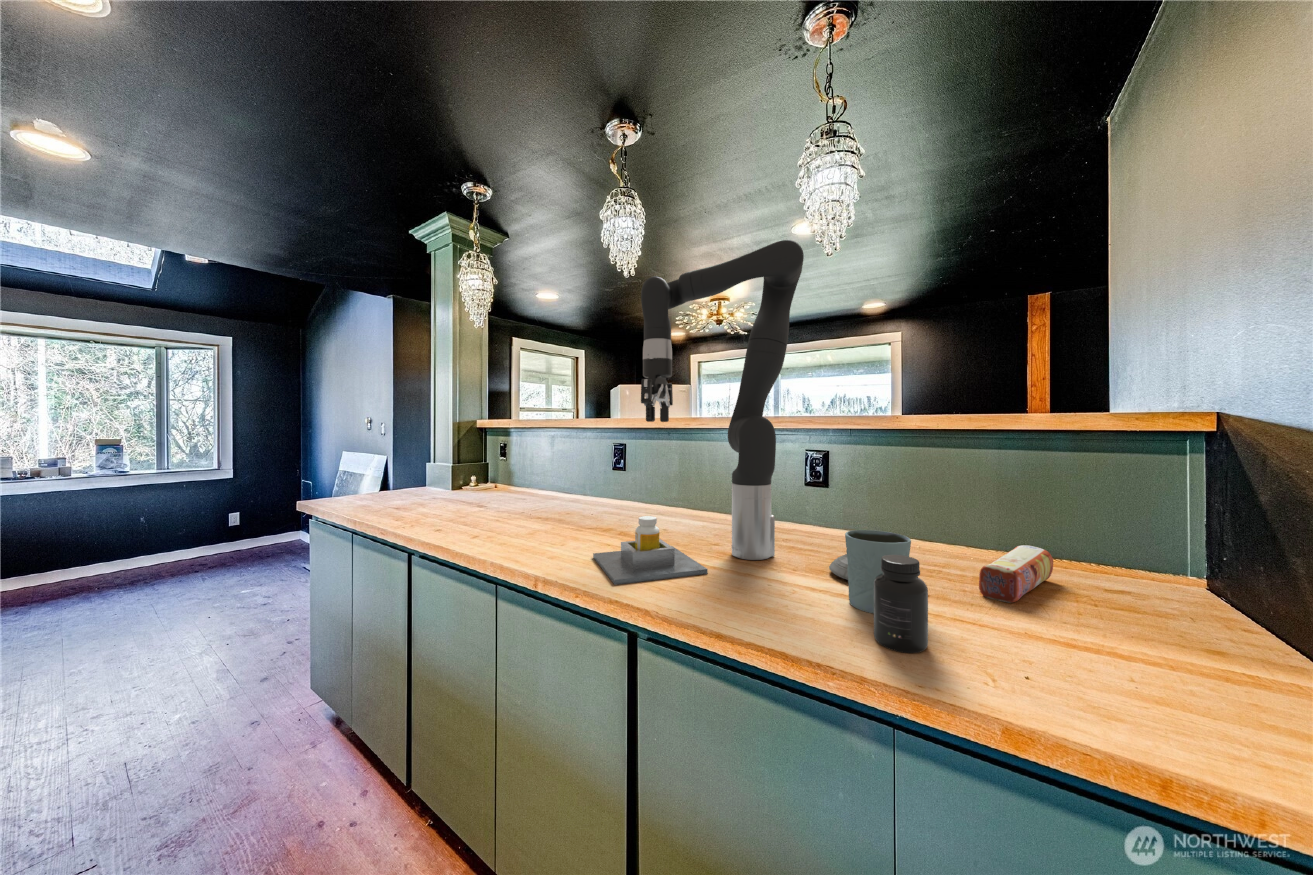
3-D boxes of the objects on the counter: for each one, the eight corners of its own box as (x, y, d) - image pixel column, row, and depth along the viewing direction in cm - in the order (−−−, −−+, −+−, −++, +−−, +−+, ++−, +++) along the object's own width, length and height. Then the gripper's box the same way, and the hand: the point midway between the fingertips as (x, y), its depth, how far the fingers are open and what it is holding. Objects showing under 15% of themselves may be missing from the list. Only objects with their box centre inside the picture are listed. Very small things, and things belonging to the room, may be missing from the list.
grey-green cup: (833, 603, 79) (834, 534, 79) (861, 590, 86) (862, 526, 86) (894, 622, 72) (895, 546, 71) (920, 606, 78) (920, 536, 78)
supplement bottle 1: (630, 560, 101) (630, 517, 101) (647, 555, 105) (647, 514, 105) (647, 565, 98) (647, 521, 98) (664, 560, 102) (664, 517, 101)
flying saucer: (903, 597, 83) (903, 567, 83) (819, 580, 92) (819, 553, 92) (915, 576, 95) (915, 549, 95) (840, 563, 104) (840, 539, 104)
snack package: (1019, 608, 78) (1020, 568, 78) (974, 596, 83) (975, 559, 83) (1054, 582, 91) (1054, 548, 90) (1013, 574, 96) (1013, 542, 96)
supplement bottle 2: (880, 628, 70) (880, 549, 69) (931, 641, 65) (932, 557, 65) (867, 644, 64) (868, 559, 64) (922, 660, 60) (923, 569, 60)
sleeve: (672, 549, 114) (672, 531, 114) (707, 573, 96) (707, 552, 95) (593, 557, 108) (593, 538, 107) (614, 585, 89) (614, 562, 89)
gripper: (656, 363, 125) (656, 422, 126) (631, 355, 113) (631, 421, 113) (681, 361, 122) (681, 422, 123) (659, 353, 109) (659, 421, 110)
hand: (657, 421), depth 118 cm, fingers open, 8 cm apart
